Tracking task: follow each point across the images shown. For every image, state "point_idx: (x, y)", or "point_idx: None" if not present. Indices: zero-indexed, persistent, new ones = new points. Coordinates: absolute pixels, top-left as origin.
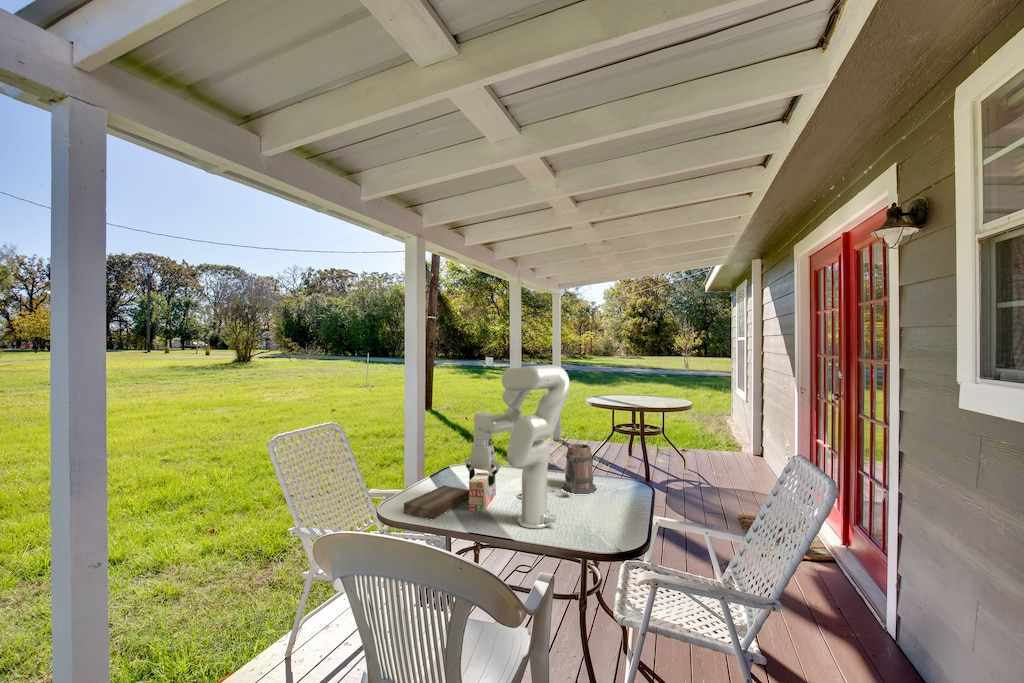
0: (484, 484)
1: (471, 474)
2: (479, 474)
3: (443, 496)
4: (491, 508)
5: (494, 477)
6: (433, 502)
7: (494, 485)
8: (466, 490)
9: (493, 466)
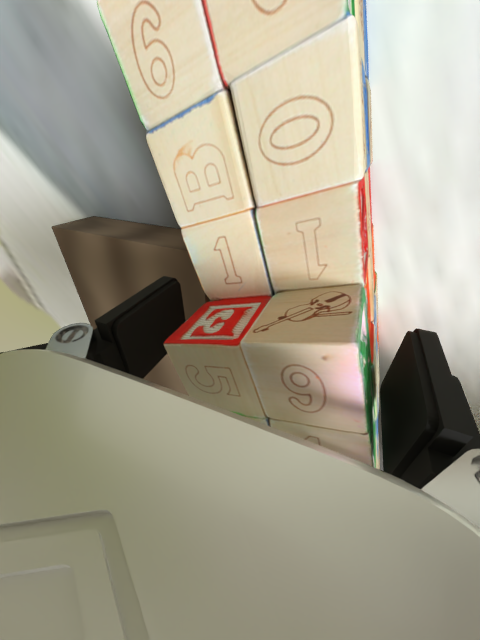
0: None
1: (149, 366)
2: (226, 403)
3: (164, 366)
4: (412, 330)
5: (473, 434)
6: None
7: (361, 36)
8: (185, 265)
9: (477, 565)
